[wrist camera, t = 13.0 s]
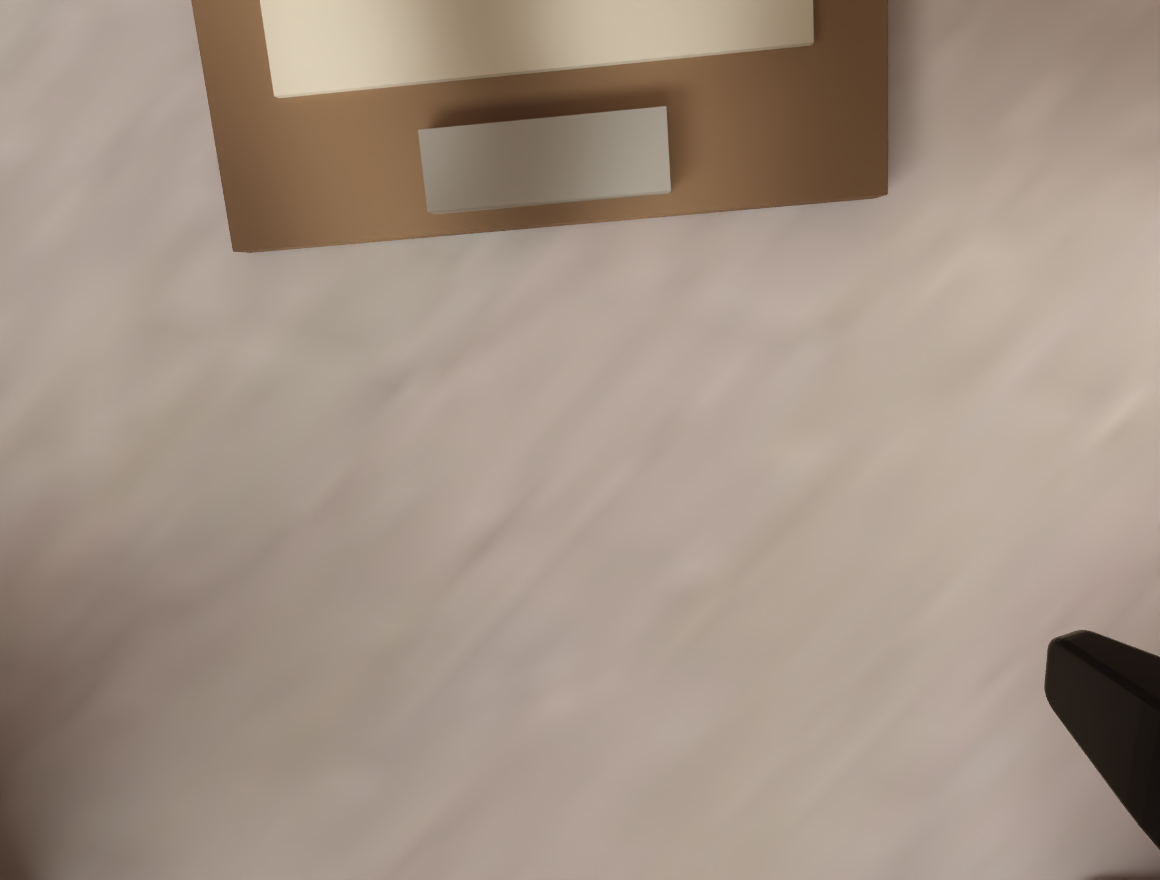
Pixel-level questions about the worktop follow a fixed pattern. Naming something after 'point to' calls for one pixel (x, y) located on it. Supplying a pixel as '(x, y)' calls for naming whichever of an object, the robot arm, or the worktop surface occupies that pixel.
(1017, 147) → the worktop surface
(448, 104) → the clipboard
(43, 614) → the worktop surface
